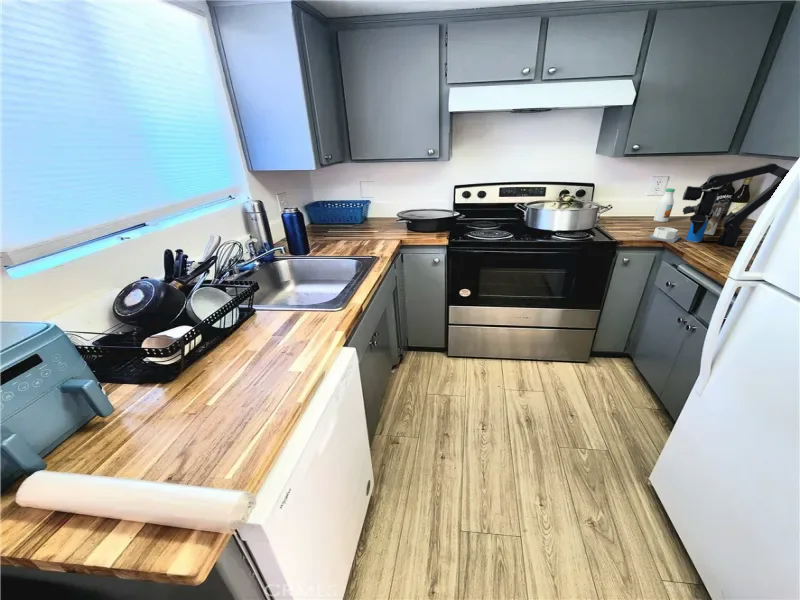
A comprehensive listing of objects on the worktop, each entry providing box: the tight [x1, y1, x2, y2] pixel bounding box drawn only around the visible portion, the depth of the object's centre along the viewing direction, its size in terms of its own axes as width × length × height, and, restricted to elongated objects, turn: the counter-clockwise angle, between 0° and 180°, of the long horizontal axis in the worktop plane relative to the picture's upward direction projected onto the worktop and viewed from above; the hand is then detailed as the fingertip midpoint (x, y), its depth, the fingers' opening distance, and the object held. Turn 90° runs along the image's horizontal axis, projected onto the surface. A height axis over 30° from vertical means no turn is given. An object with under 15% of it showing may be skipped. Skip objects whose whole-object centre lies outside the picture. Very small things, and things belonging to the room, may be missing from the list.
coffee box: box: [704, 202, 726, 236], centre depth 188 cm, size 9×6×16 cm
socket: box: [647, 226, 681, 244], centre depth 183 cm, size 12×12×5 cm
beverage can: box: [685, 219, 709, 244], centre depth 175 cm, size 6×6×12 cm
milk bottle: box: [653, 188, 676, 223], centre depth 213 cm, size 8×8×20 cm
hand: (696, 231), depth 176 cm, fingers open, 9 cm apart
